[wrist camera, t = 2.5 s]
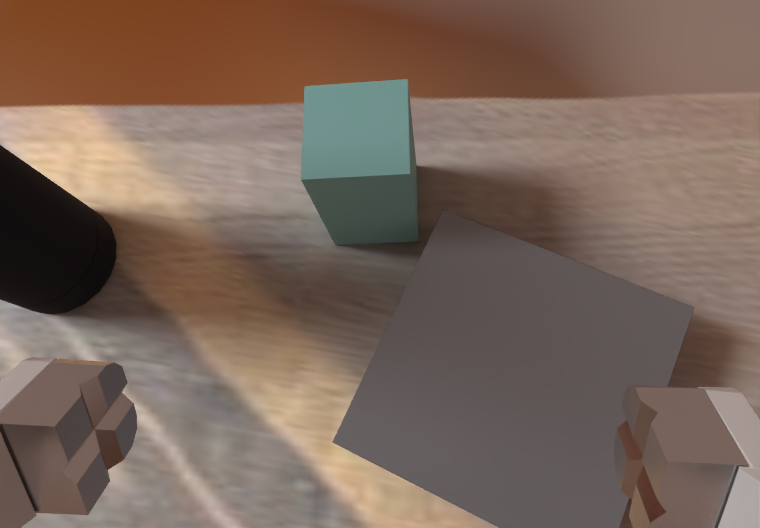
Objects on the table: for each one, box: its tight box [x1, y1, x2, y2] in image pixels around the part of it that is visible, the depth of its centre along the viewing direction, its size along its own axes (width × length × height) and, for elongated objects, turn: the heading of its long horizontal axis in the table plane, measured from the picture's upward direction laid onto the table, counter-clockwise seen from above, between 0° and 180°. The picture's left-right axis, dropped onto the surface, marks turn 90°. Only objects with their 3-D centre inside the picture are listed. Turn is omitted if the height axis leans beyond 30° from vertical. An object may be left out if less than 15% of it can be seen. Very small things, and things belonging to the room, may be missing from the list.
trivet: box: [333, 209, 694, 528], centre depth 27 cm, size 12×12×3 cm
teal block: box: [301, 79, 419, 245], centre depth 29 cm, size 4×4×8 cm
